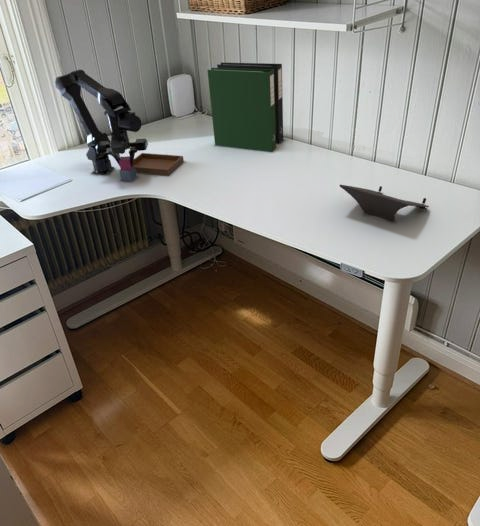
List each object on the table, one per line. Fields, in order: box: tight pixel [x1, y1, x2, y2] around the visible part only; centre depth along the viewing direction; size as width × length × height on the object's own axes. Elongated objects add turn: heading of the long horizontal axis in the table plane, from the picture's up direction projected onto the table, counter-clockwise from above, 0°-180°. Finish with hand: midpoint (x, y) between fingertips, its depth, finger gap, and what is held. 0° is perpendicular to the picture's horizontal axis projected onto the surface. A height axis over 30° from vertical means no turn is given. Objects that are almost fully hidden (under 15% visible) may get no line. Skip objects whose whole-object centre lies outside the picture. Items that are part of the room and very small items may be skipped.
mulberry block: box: [118, 155, 132, 170], centre depth 188 cm, size 4×4×4 cm
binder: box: [206, 62, 284, 153], centre depth 206 cm, size 27×15×32 cm, turn 66°
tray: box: [133, 152, 185, 177], centre depth 199 cm, size 19×14×3 cm
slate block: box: [118, 166, 138, 182], centre depth 191 cm, size 4×4×4 cm
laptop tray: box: [339, 184, 430, 223], centre depth 154 cm, size 23×23×9 cm
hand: (126, 166), depth 189 cm, fingers closed on mulberry block, 4 cm apart
